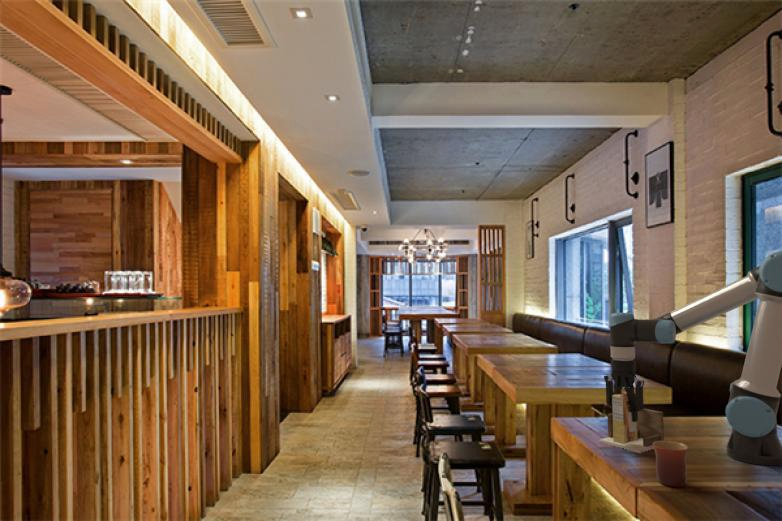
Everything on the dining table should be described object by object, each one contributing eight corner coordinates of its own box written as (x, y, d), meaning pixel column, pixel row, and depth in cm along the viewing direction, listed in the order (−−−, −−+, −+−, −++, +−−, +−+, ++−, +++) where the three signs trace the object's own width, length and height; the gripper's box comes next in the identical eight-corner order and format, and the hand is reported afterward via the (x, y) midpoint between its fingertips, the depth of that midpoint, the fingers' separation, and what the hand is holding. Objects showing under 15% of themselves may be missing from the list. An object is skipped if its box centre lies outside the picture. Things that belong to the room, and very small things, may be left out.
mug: (686, 491, 136) (685, 452, 137) (650, 484, 142) (648, 446, 142) (694, 478, 145) (693, 441, 146) (660, 471, 151) (659, 436, 152)
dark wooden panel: (627, 435, 187) (626, 410, 188) (610, 440, 182) (609, 414, 182) (625, 435, 188) (624, 410, 189) (608, 439, 183) (607, 414, 183)
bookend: (664, 445, 176) (663, 412, 177) (647, 450, 171) (646, 416, 171) (638, 438, 184) (637, 407, 184) (621, 443, 179) (620, 411, 179)
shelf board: (665, 445, 176) (665, 442, 176) (639, 453, 168) (639, 450, 168) (625, 435, 188) (625, 432, 188) (599, 442, 180) (599, 439, 180)
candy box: (626, 436, 177) (624, 391, 178) (638, 439, 173) (636, 393, 174) (612, 441, 171) (611, 395, 172) (625, 444, 168) (623, 396, 169)
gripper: (654, 361, 168) (657, 433, 167) (606, 355, 183) (608, 422, 182) (641, 363, 164) (643, 437, 163) (593, 357, 179) (595, 425, 178)
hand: (625, 429), depth 173 cm, fingers closed on candy box, 4 cm apart
